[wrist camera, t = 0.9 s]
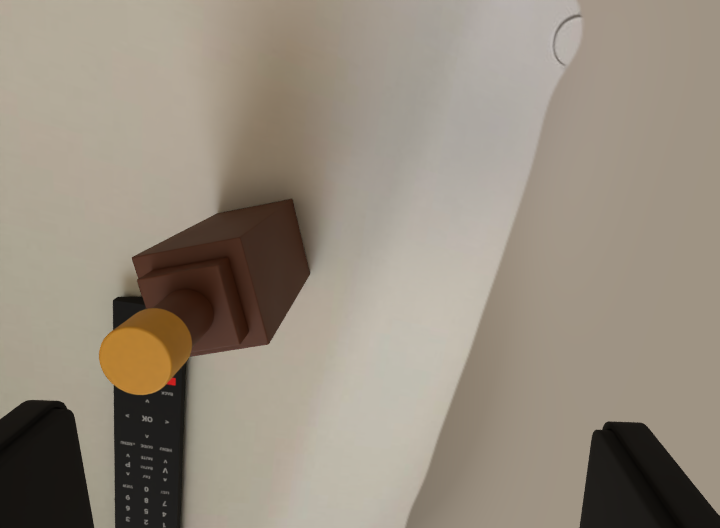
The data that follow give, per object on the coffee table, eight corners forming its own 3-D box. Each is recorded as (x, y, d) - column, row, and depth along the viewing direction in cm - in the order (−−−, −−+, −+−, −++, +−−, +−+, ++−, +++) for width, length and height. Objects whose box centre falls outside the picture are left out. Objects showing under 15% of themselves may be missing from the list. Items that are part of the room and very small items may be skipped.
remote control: (191, 304, 38) (183, 310, 37) (181, 556, 45) (175, 569, 44) (122, 293, 39) (113, 300, 37) (123, 546, 45) (115, 559, 44)
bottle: (292, 198, 36) (183, 278, 18) (310, 274, 37) (226, 418, 19) (216, 213, 36) (39, 303, 19) (237, 287, 38) (90, 437, 20)
